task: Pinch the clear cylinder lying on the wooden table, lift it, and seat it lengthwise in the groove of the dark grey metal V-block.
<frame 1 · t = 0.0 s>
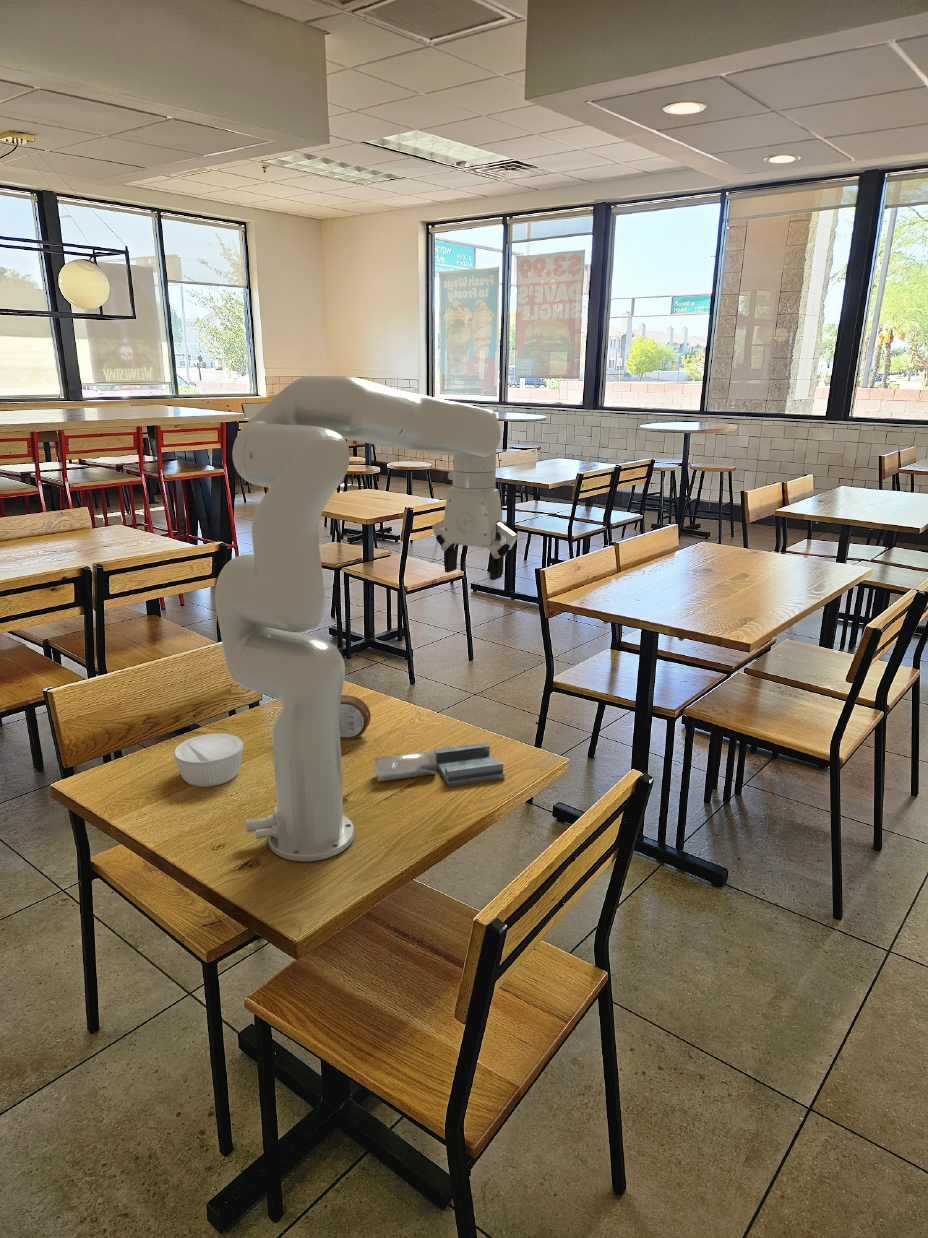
hand: (473, 574, 148), 31 cm above the table, tool pointing down, fingers open, 9 cm apart
v block: (467, 769, 142), on the table
ramekin: (211, 775, 139), on the table
tin: (330, 737, 154), on the table
clear cylinder: (405, 776, 140), on the table
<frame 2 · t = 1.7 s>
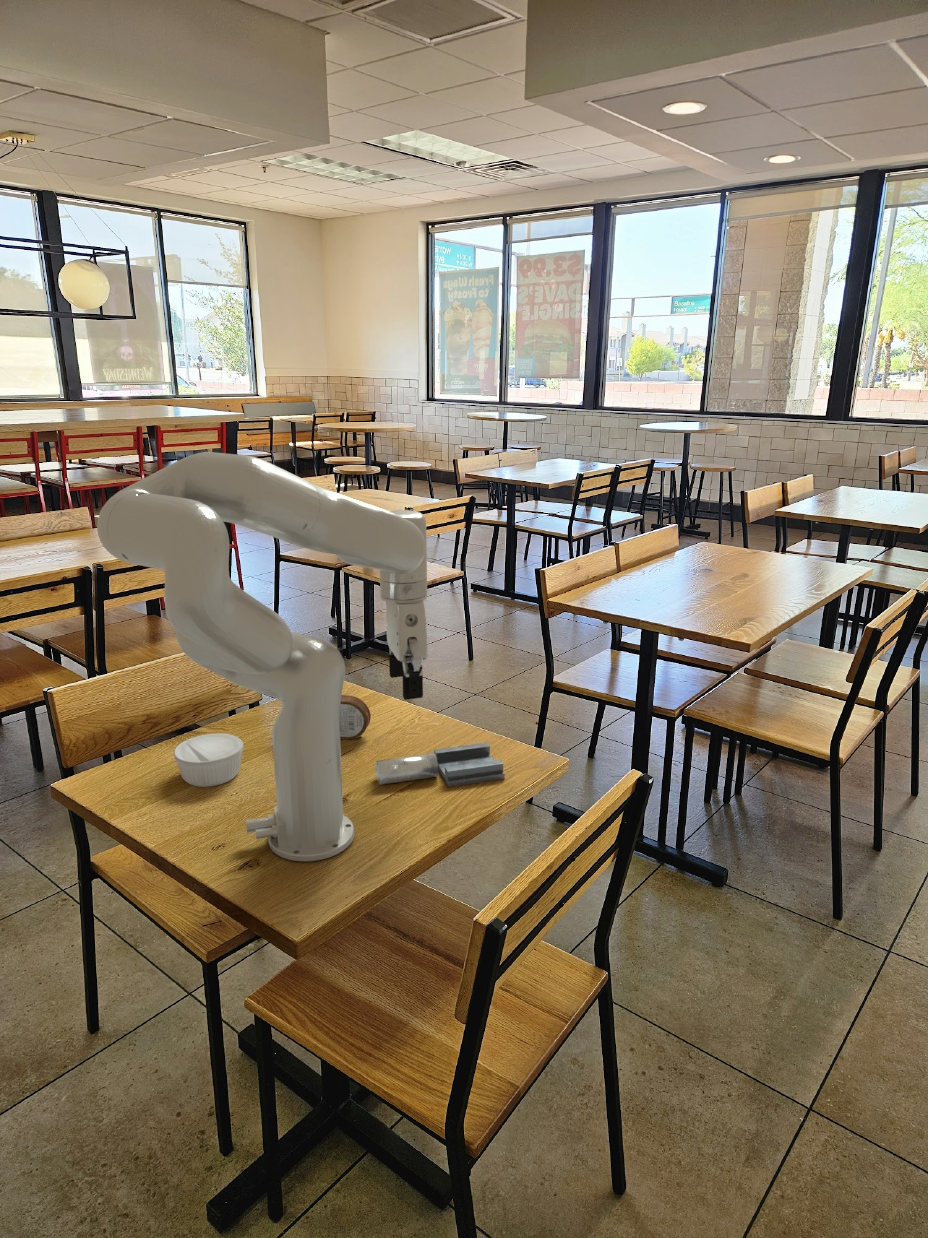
hand: (405, 686, 135), 16 cm above the table, tool pointing down, fingers open, 9 cm apart
clear cylinder: (405, 774, 139), on the table, tilted 32°
everything else where it was.
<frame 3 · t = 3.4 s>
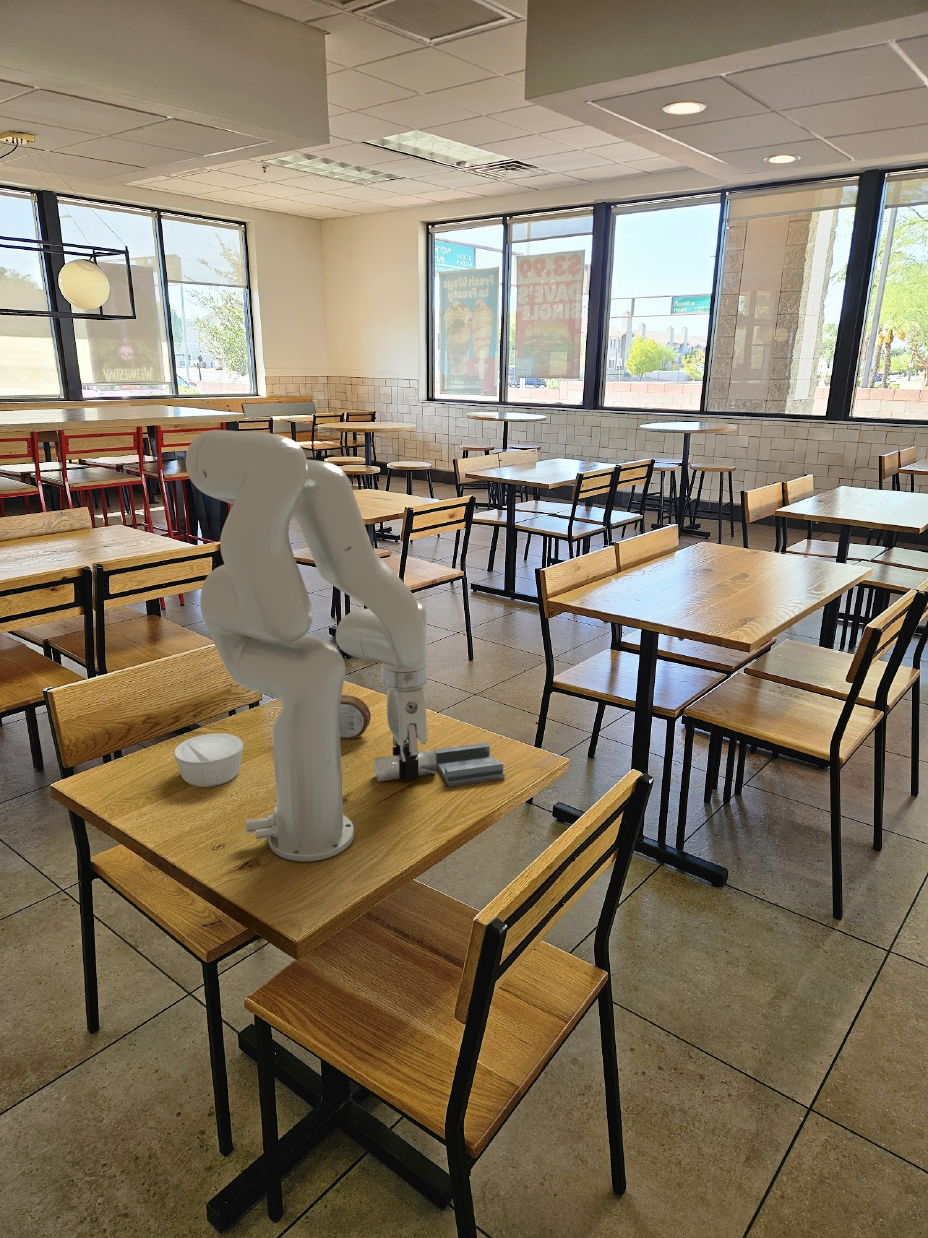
hand: (405, 772, 139), 1 cm above the table, tool pointing down, fingers closed on clear cylinder, 4 cm apart
clear cylinder: (405, 776, 140), on the table, touching gripper
everything else where it was.
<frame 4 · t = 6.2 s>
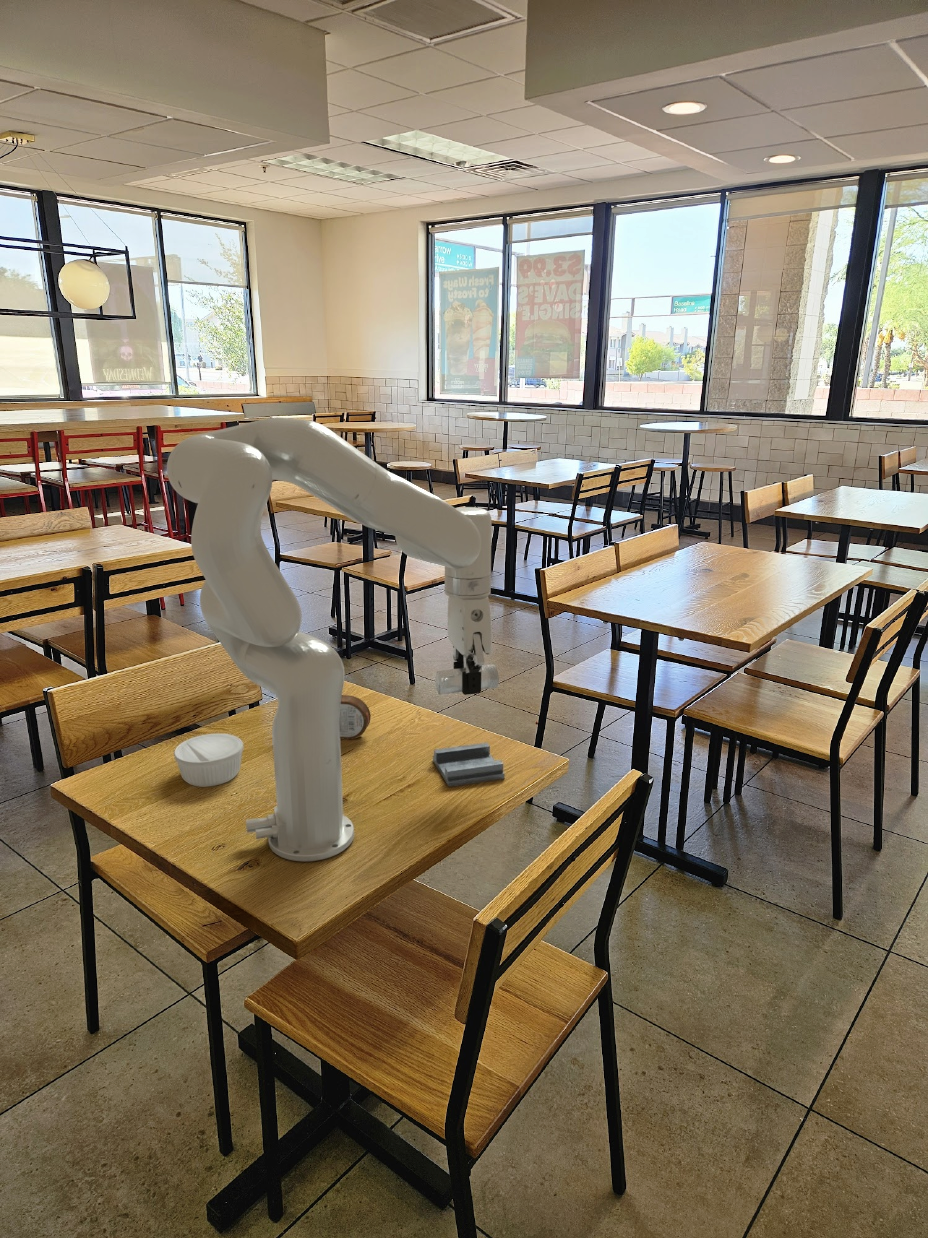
hand: (467, 687, 137), 16 cm above the table, tool pointing down, fingers closed on clear cylinder, 4 cm apart
clear cylinder: (466, 690, 137), point 15 cm above the table, touching gripper
everything else where it was.
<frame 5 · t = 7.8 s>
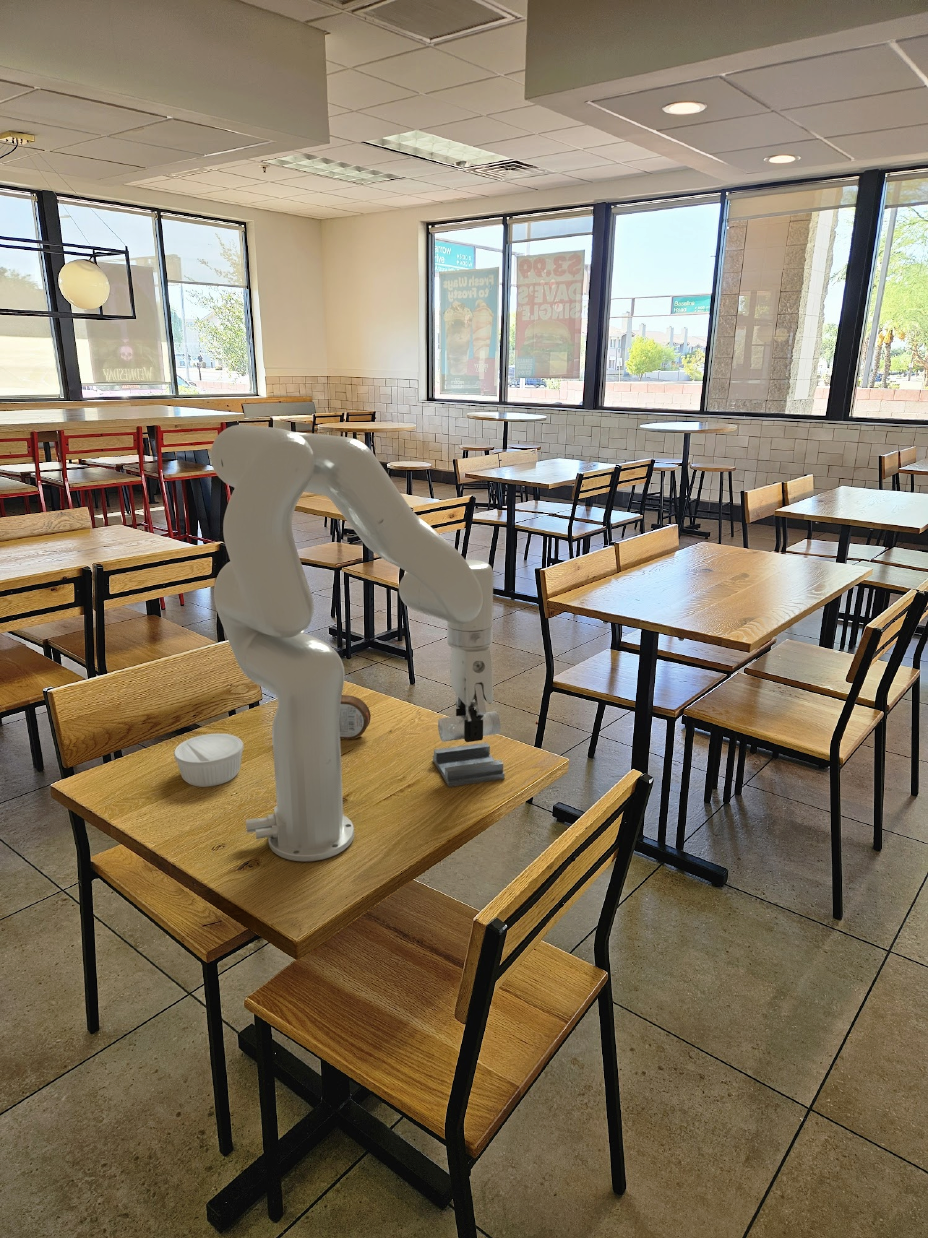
hand: (469, 733, 140), 7 cm above the table, tool pointing down, fingers closed on clear cylinder, 4 cm apart
clear cylinder: (469, 736, 140), point 6 cm above the table, touching gripper
everything else where it was.
when the fingers open (3 cm above the table, at t = 8.9 s): clear cylinder drops 1 cm, resting on v block.
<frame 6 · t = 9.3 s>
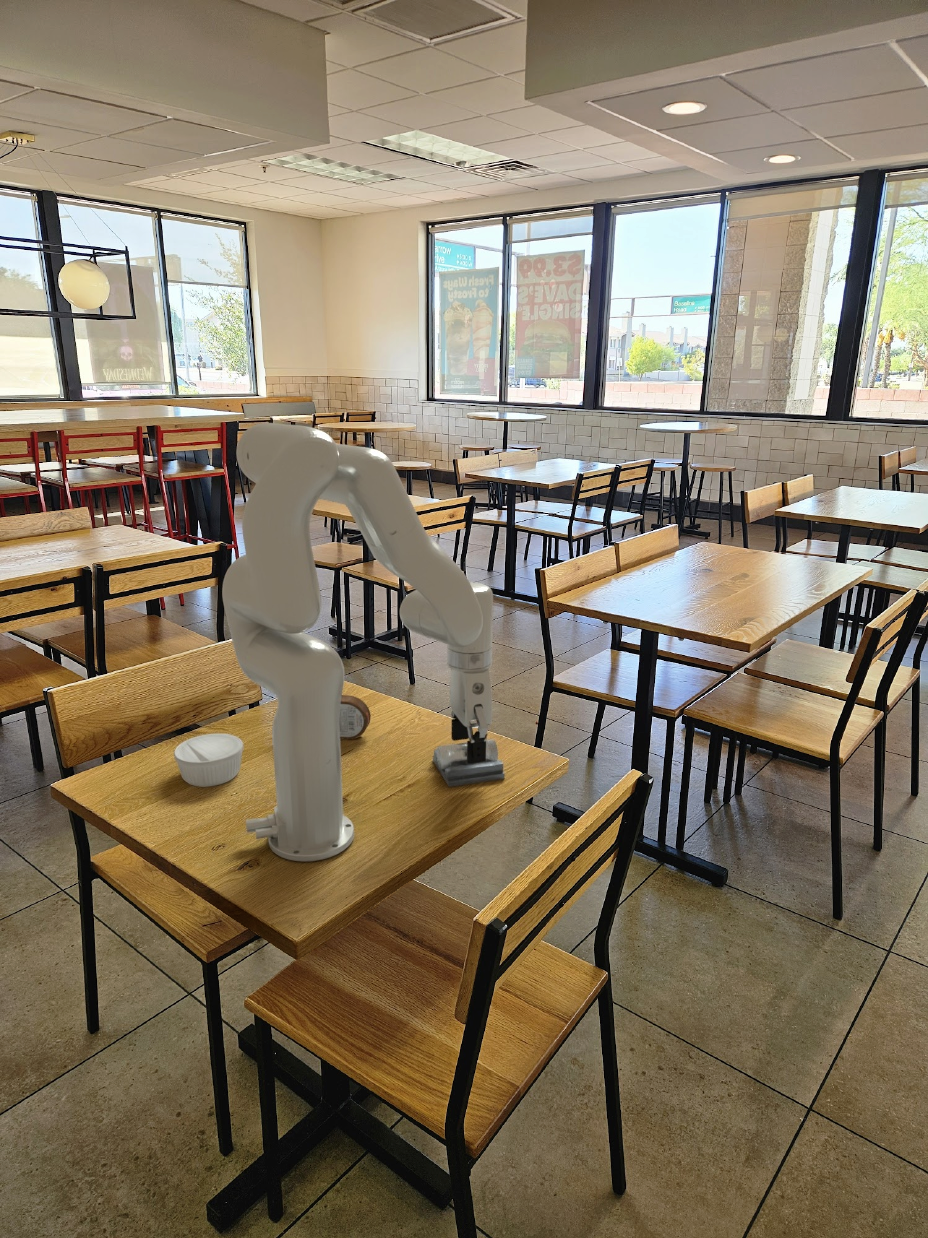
hand: (468, 750, 141), 4 cm above the table, tool pointing down, fingers open, 8 cm apart
clear cylinder: (467, 764, 141), point 1 cm above the table, touching v block
everything else where it was.
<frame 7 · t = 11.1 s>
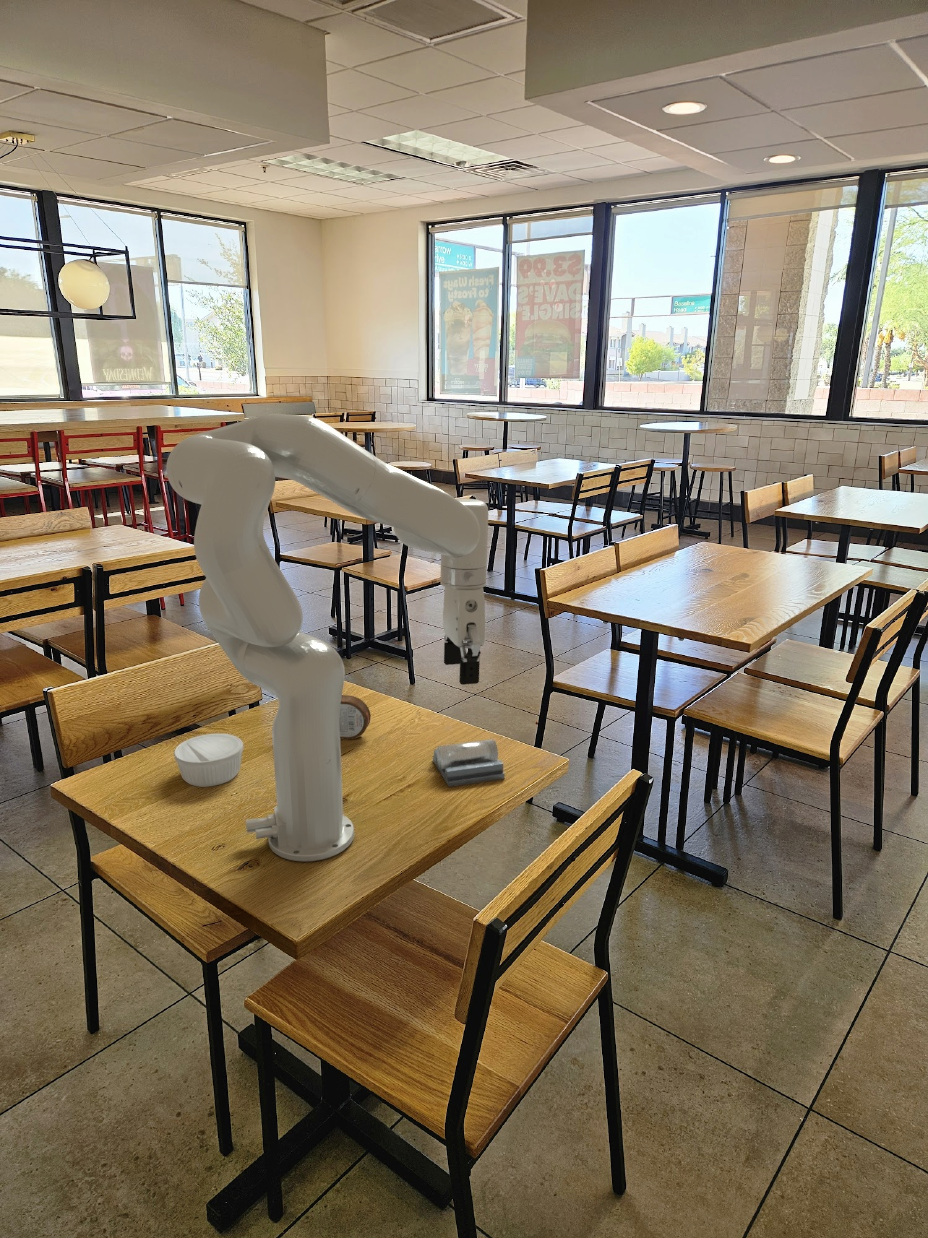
hand: (460, 673, 137), 18 cm above the table, tool pointing down, fingers open, 9 cm apart
nothing on the table moved.
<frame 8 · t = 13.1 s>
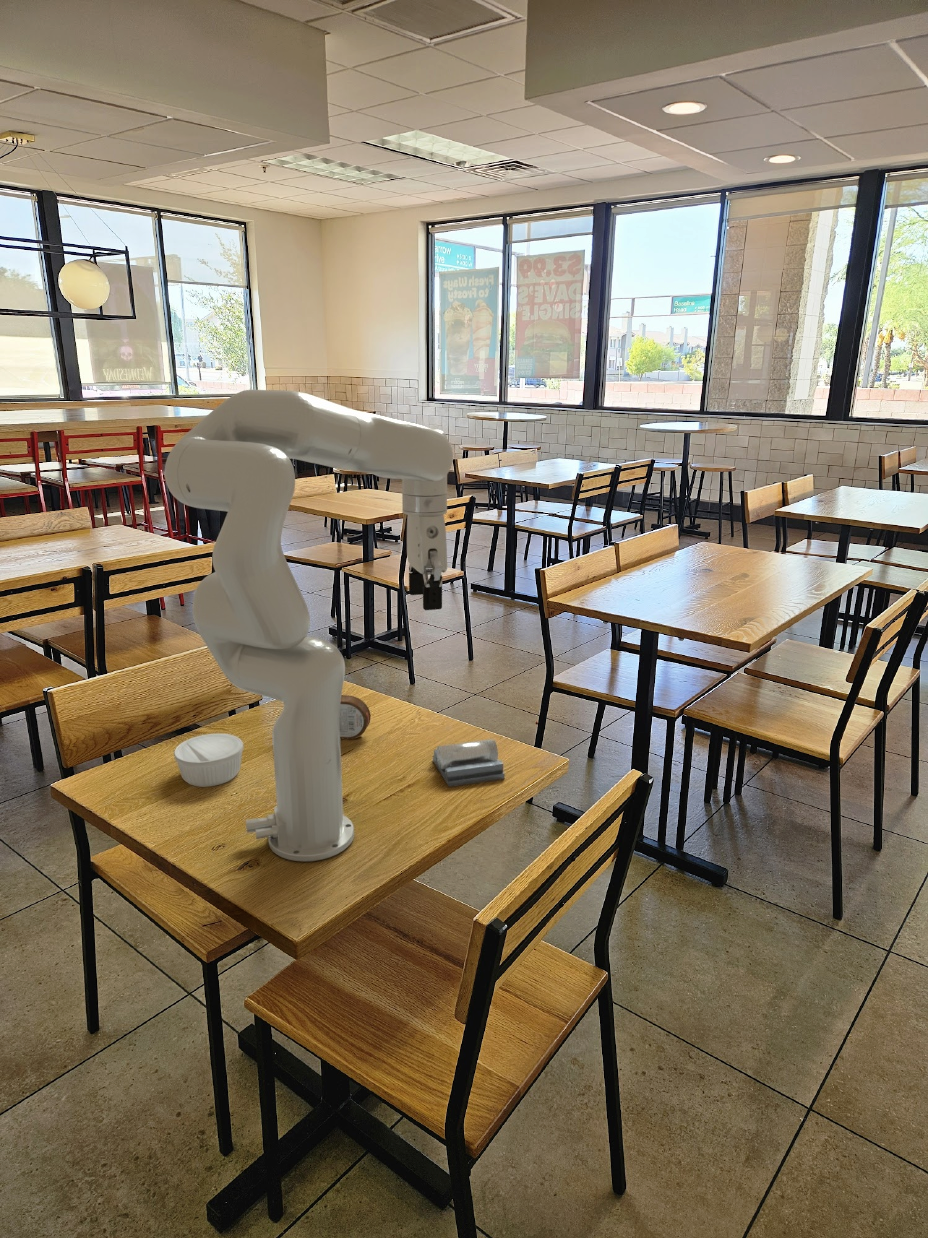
hand: (425, 601, 141), 28 cm above the table, tool pointing down, fingers open, 9 cm apart
nothing on the table moved.
at the end: clear cylinder 0.2 cm off-centre on the v block, point 1.0 cm above the v block's base; clear cylinder touching v block; the gripper is holding nothing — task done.
